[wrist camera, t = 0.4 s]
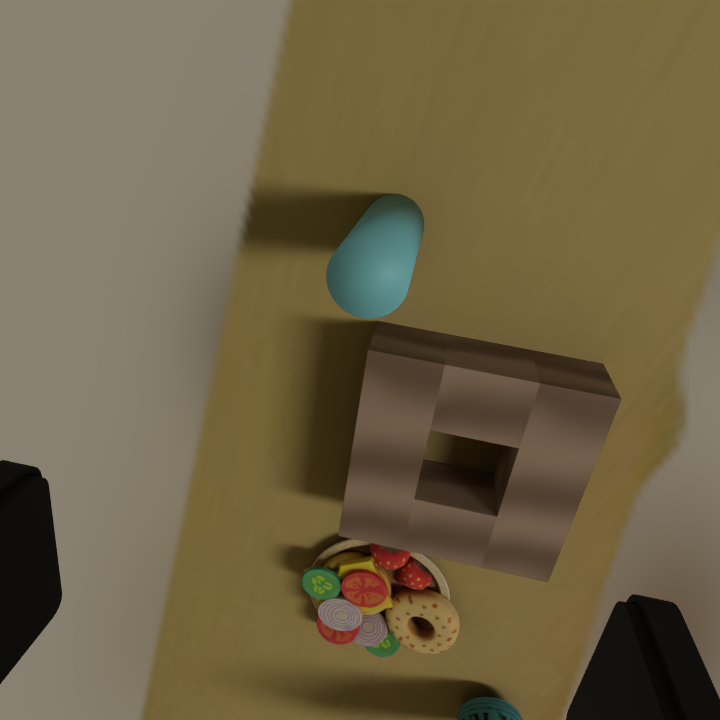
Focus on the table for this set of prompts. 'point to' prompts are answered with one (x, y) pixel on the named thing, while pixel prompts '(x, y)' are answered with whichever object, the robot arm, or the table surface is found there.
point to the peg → (377, 258)
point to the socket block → (481, 422)
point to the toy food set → (381, 599)
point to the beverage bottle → (488, 710)
